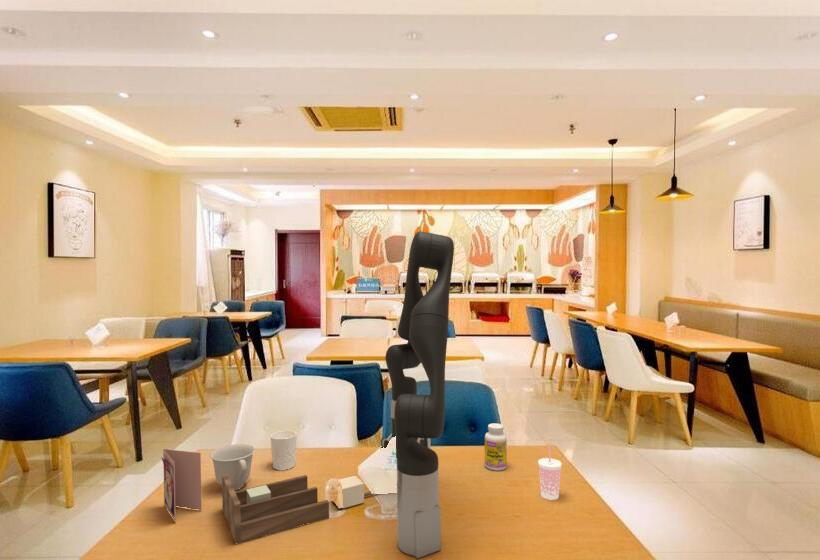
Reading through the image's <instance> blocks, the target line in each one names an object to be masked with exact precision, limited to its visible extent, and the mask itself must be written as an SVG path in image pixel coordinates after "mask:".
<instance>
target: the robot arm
mask: <svg viewBox="0 0 820 560" xmlns="http://www.w3.org/2000/svg"><path fill="white" fill-rule="evenodd" d="M454 255H455V245H454V240H453V238H451V237H450V236H446V235H443V234H438V233H432V232H428V231H427V232H426V231H421V230H419V231H417V232H416V233H415V234H414V236H413V238H412V239H411V243H410V248H409V255H408V263H407V268H406V269H407V270H406V271H407V272H406V278H405V279H406V280H405V287H404V289H405V290H404V297H403V305H402V310H401V314H400V318H399V323H398V327H397V334H398V336H399V337H400V338H401V339H402V340H405V341H407V342H406V343H400V344H399V343H397V344H393V345H390V346H389V347H388V348H387V350H386V352H385V364H386V367H387V371H388V374H389V378H390V383H391V404H390V405H391V406H390V426H391V427H390V430H391V437H395V436H396V449H395V451H396V485H397V488H396V514H397V515H396V520H397V523H396V525H397V526H396V527H397V532H396V533H397V546H398V547H397V548H398V549H399V550H400V551H401V552H402V553H404V554H406V555H408V556H414V557H415V558H416V559H420V558H423V557H425V556H428V555H431V554H434V553H436V552H439V551H441V550H442V525H441V524H442V523H441V522H442V520H441V519H442V518H441V516H442V515H441V514H442V511H441V510H442V509H441V506H440V505H439V503H440V500H439V495H440V494H439V487H440V486H439V456H438V454H437V453H436V451H434V450H433V449H432V448H431V449H429V448H428V440H427V438H430V440H433V439H436V440H437V439H439V438H441V437H442V435H443V432H444V427H445V421H446V419H445V416H446V415H445V414H446V394H445V393H446V385H445V384H446V360H447V359H446V358H447V349H448V348H447V345H448V337H449V336H448V335H449V334H448V332H449V313H450V312H449V311H450V310H449V307H450V305H449V304H450V303H449V302H450V287H451V279H452V273H453V271H452V270H453V265H454V263H453V262H454ZM420 268H423V269H427V270H428V269H429V270H435V271H437V275H436V278H435V280H434V282H433V283H432V285H431V286H430V287H429V289H428V291H426V293H425V294H424V293H423V291H422V287H421V284H420V278H419V275H420V273H419V272H420ZM419 365H422V367H423V370H424V371H425V374H426V376H427V379H428V382H429V388H430V392H429V394H418V390H417V389H418V387H417V386H418V385H417V384H418V383H417V380H416V379H415V378H414V377H412V376H406V375H405V374H404V373H405V372H404V370H408V369H414V368H417V367H419ZM391 437H390V438H384V437H383V438H381V439H380V449H381V448H383V447H384V448H386V447H387V445H388V443H389V441H390V440H391ZM418 438H419V439H420V443H418V442H417V440H418ZM381 446H382V447H381Z"/></svg>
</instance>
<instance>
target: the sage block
mask: <svg viewBox="0 0 820 560" xmlns="http://www.w3.org/2000/svg"><path fill="white" fill-rule="evenodd" d="M263 485H264V486H261V485H258V486H259V487H256V486H254V487H255V488H252V487H250V488H251V489H248V488H245V489H246V497H247V504H249V503H253V502H257V501H261V500H265V499H269V498H271V492H270V490H269V489H268V487H267V485H265V484H263Z"/></svg>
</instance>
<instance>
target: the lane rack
mask: <svg viewBox="0 0 820 560" xmlns="http://www.w3.org/2000/svg"><path fill="white" fill-rule="evenodd" d="M264 485H267V487H268V489H269V490H270V492H271V498H269V499H265V500H261V501H257V502H253V503H249V504H247V497H246V489H251V488H255V487H259V486H264ZM221 492H222V493H221V494H222V495H221V498H222V499H221V500H222V501H221V506H222V512H223V511H224V513H223V515H224V514H225V515H224V517H226V518H225V520H226V519H227V521H226V523H227V522H228V523H227V526H228V525H229V526H228V528H230V529H229V531H230V530H231V531H230V534H231V533H232V534H231V537H232V536H233V537H232V539H234V540H233V542H234V541H235V542H234V545H235V544H236V543H240V544H242V543H241V542H243V543H245V542H244V541H247V540H250V541H252V540H251V539H254V540H256V539H255V538H257V539H259V538H258V537H261V538H263V537H262V536H264V537H266V536H265V535H268V536H270V535H269V534H271V535H274V534H273V533H275V534H278V533H281V531H282V532H284V530H285V531H288V529H289V530H292V529H294V527H296V528H298V527H297V526H299V527H301V526H300V525H303V524H306V525H308V524H307V523H310V524H312V522H313V523H316V522H315V521H317V522H319V521H323V520H327V519H329V518H330V501H329V500H328V499H326V500H322V501H318V500H319V499H318V497H319V496H318V487H317V486H314V487H310V488H308V476H307V475H306V474H305V475H300V476H297V477H291V478H289V479H288V478H287V479H283V480H279V481H278V480H277V481H274V482H270V483H266V484H261V485H258V486H254V487H253V486H252V487H248V488H243V489H238V490H234V488H233V486H232V484H231V482H230V480H229V477H228V475H227V474H224V475H222V485H221ZM303 526H304V525H303ZM291 528H292V529H291ZM277 532H278V533H277ZM247 542H248V541H247ZM236 545H237V544H236Z"/></svg>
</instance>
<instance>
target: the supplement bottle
mask: <svg viewBox="0 0 820 560" xmlns="http://www.w3.org/2000/svg"><path fill="white" fill-rule="evenodd" d="M487 430H488V432H487V431H486V433H485V435H484V466H485V467H486V468H487V469H488V470H491V471H497V472H498V471H503V470H505V469H506V468H507V464H508V463H507V462H508V461H507V458H508V457H507V455H508V454H507V453H508V451H507V450H508V449H507V448H508V447H507V445H508V443H507V439H508V438H507V435H506V434H505V433H504V425H503V424H502V423H498V422H497V423H489V424H488V426H487Z"/></svg>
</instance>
